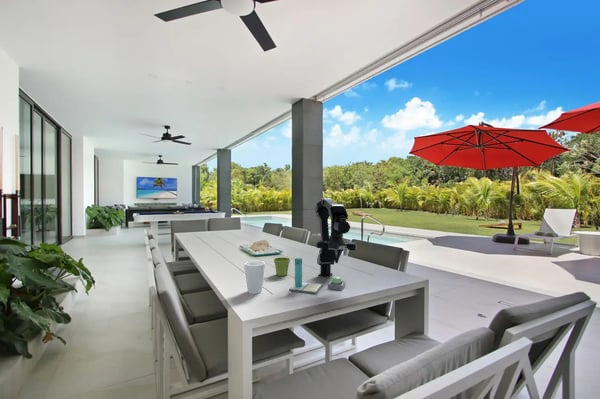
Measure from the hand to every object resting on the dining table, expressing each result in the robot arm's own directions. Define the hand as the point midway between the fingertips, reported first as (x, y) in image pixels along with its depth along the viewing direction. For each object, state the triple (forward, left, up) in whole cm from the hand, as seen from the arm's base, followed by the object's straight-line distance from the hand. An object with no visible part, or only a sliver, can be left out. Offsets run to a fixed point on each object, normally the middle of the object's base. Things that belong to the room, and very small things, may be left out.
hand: (336, 263), depth 137 cm
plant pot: (-10, -33, -12) cm, 36 cm away
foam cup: (+19, -34, -12) cm, 41 cm away
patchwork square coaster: (+7, -13, -12) cm, 19 cm away
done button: (0, 0, -10) cm, 10 cm away
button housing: (0, 0, -12) cm, 12 cm away
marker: (+9, -16, -10) cm, 21 cm away
